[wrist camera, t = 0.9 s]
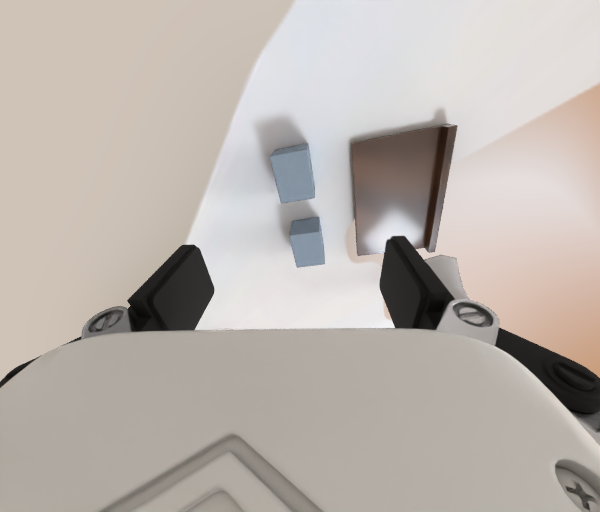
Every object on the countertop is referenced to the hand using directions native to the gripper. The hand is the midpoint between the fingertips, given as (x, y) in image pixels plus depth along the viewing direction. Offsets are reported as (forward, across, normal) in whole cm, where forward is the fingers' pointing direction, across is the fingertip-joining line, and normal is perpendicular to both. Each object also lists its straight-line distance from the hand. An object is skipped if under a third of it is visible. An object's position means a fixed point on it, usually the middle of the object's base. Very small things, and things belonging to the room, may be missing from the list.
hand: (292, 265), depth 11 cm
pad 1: (+24, +1, 0) cm, 25 cm away
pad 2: (+25, 0, +11) cm, 27 cm away
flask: (+25, -23, +20) cm, 39 cm away
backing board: (+24, -14, +6) cm, 28 cm away
